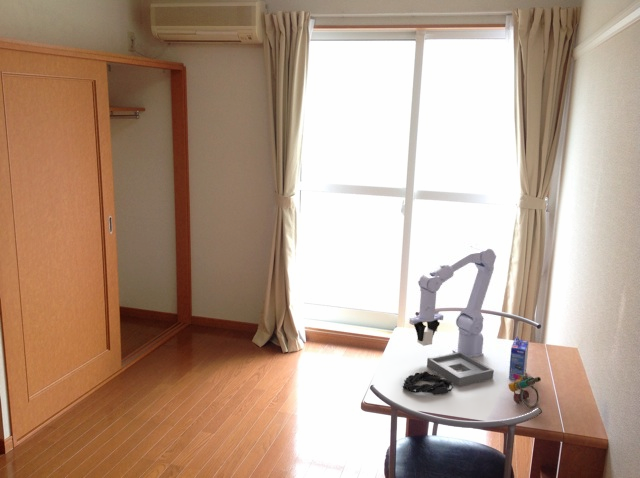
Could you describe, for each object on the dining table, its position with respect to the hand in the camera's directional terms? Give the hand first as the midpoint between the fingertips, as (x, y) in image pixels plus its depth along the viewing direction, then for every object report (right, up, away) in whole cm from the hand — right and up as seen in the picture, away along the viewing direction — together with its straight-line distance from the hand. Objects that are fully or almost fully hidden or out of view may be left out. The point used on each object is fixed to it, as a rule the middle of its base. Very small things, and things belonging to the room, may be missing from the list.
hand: (425, 339), depth 219 cm
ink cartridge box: (+33, -12, -7) cm, 36 cm away
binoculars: (+28, -16, -28) cm, 42 cm away
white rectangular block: (0, -1, 0) cm, 1 cm away
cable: (-4, -14, -19) cm, 24 cm away
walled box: (+11, -11, -7) cm, 17 cm away
